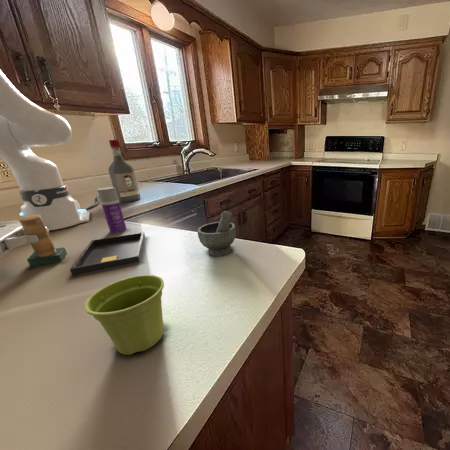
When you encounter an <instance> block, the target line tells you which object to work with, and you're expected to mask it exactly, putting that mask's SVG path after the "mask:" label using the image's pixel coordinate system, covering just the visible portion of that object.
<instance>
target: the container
mask: <svg viewBox="0 0 450 450" xmlns="http://www.w3.org/2000/svg"><path fill="white" fill-rule="evenodd" d="M97 193H98V195H99V197H98V198H99V202H100V204H101V208H102V211H103V215H104V217H105V220H106V225H107V227H108V230H109V233H110V234H119V233H122V232H126V231H127V226H126V222H125V217H124V215H123V211H122V207H121V204H120V203H121V202H119V200H118V197H117V194H116V191H115V188H114V187H113V186H106V187H101V188H97Z"/></svg>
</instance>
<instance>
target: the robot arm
mask: <svg viewBox="0 0 450 450" xmlns="http://www.w3.org/2000/svg"><path fill="white" fill-rule="evenodd" d="M72 137H73V131H72V128H71V125H70V124H69V122H68V121H67V120H66V119H65V118H64V117H62V116H61V115H59V114H57V113H54V112H52V111H50V110H47V109H45V108H43V107H41V106H40V105H38V104H36V102H35V103H34V102H33V101H31V100H30V99H29V98H28V97H27V96H25V95H24V94H22V93H21V92H20V90H18V88H16V86H15V85H14V84H13V82H11V81H10V80H9V78H8V77H7V76H6V74H5V73H4V72H3V71H2V69H1V68H0V159H1V160H2V161H3V162H4V163H5V164H6V165H7V167H8V168H9V170H10V171H11V174H12V175H13V177H14V179H15V181H16V183H17V185H18V188H19V191H18V192H19V196H20V198H21V200H22V201H23V204H22V205H21V206H20V211H21V212H20V213H19V216H21V217H23V216H27V215H33V214H38V215H40V216H41V218H42V220H43V223H44V225H45V227H46V229H47V231H48V234H49V233H50V231H56V230H59V229H61V230H62V229H65V228H69V227H73V226H76V225H78V224H83V223H87V222H89V221H90V215H91V214H90V211H88V210H90V209H92V208H94V207H96V206H97V205H98V204H99V203H100V197H99V194H97V195H96V197H95V199H96V200H95V201H96V202H95V203H94V204H92V205H90V206H88V207H87V208H84V209H83V208H82V209H81V205H80V203H79V201H78V200H77V199H75V198H73V197H72V195H70V192H69V186H68V185H67V184H64V182H63V179H62V176H61V173H60V170H59V167H58V166H57V165H56V164H55V163H54V162H52V161H51V160H49V159H47V158H43V157H40V156H38V155H37V154H35V153H34V152H33V150H32V149H31V148H42V147H44V148H47V147H57V146H62V145H66V144H68V143H70V142H71V140H72ZM39 240H40V237H39V235H38V234H29V235H27V236H26V234H25V232H24V230H23V228H22V226H21V224H20V222H19V220H6V221H0V258H1V257H3V256H4V255H6V254H7V253H9V252H10V251H12V250H14V249H15V248H19V247H22V246H27V245H31V244H30V243H36V242H38V241H39Z"/></svg>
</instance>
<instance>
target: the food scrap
mask: <svg viewBox="0 0 450 450" xmlns="http://www.w3.org/2000/svg"><path fill="white" fill-rule="evenodd" d="M116 259H118V257H117V255H116V256H111V257H106V258H103V259H102V260H101V262H105V261H110V260H116Z"/></svg>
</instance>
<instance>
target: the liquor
mask: <svg viewBox="0 0 450 450" xmlns="http://www.w3.org/2000/svg"><path fill="white" fill-rule="evenodd" d="M108 143H109V147H110V148H111V152H112V157H113V161H112V162H111V164H110V165H109V167H108V174H109V177H110V178H109V179H110V181H111V185H112V187H114V188H115V191H116V194H117V197H118V200H119V203H131V202H134V201H139V200H141V194H140V190H139V185H138V181H137V177H136V173H135V169H134V167H133V166H132V165H131V164H129V163H128V162H127V161H126V160H125V159H124V158H123V155H122V151H121V147H120V142H119V140H118V139H109V140H108Z"/></svg>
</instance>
